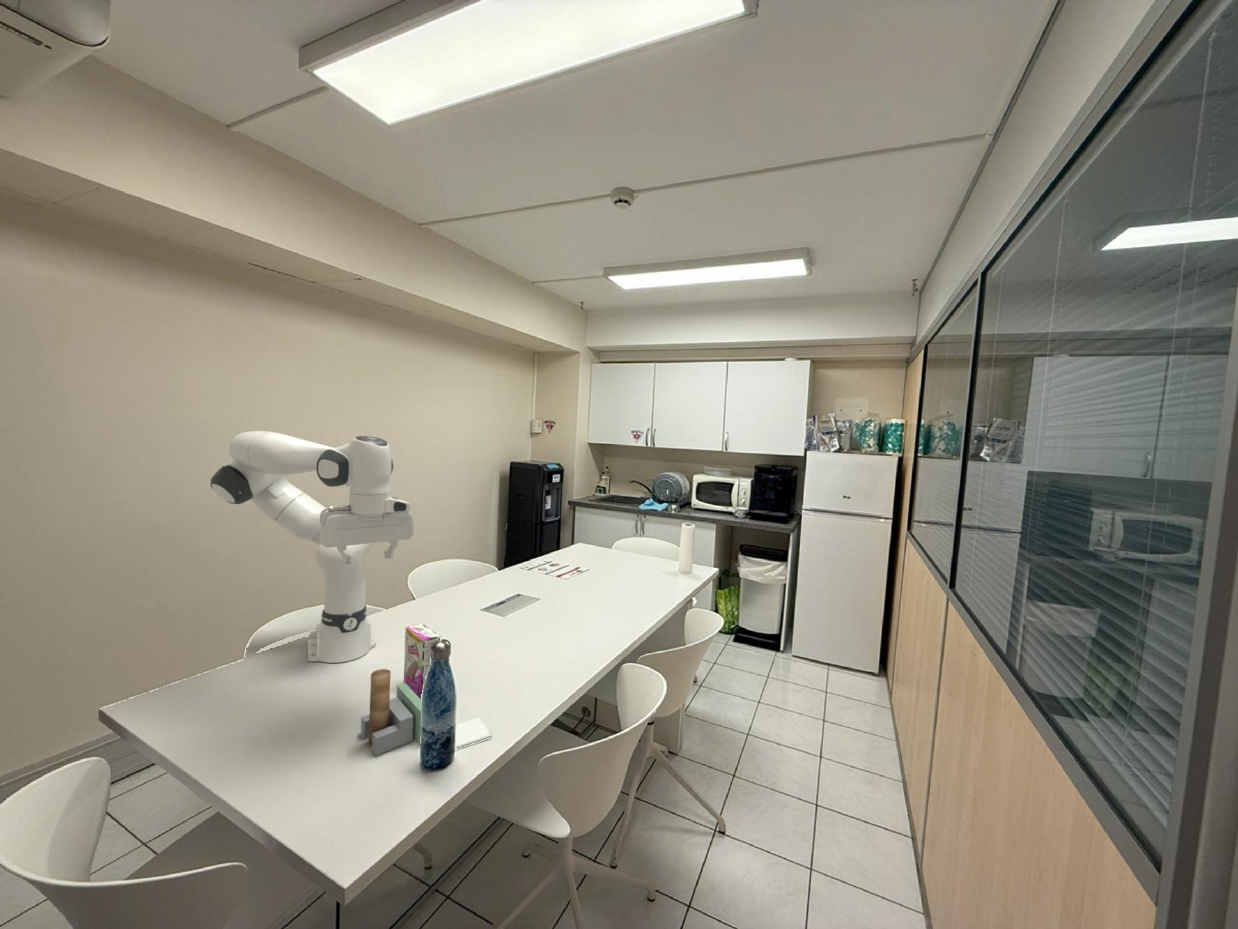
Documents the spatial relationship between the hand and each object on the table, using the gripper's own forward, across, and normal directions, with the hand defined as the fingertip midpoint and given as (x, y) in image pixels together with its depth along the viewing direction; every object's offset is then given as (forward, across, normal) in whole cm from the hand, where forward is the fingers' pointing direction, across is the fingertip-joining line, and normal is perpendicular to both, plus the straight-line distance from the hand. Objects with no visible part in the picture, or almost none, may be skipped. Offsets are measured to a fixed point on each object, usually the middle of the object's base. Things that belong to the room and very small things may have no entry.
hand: (367, 560), depth 118 cm
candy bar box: (+39, +16, +4) cm, 43 cm away
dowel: (+39, 0, -12) cm, 41 cm away
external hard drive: (+40, +14, -22) cm, 48 cm away
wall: (+39, +7, -12) cm, 42 cm away
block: (+39, +1, -12) cm, 41 cm away
